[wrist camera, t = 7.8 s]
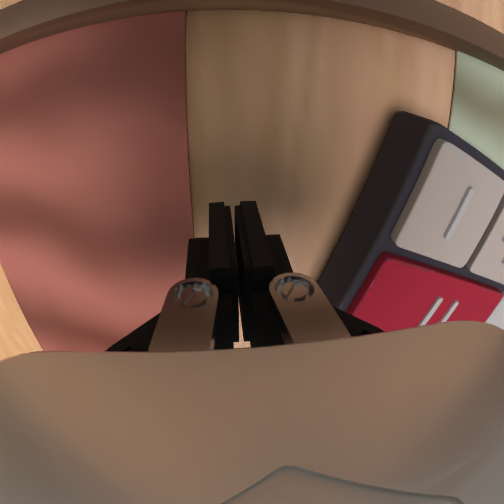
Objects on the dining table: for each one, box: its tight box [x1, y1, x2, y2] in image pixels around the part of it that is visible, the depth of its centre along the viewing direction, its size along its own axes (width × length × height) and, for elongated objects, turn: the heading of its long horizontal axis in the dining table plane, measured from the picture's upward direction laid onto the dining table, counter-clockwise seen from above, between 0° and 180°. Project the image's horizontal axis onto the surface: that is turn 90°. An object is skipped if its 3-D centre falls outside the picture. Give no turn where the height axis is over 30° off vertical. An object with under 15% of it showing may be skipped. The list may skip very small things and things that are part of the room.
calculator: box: [318, 111, 504, 332], centre depth 15 cm, size 11×4×15 cm
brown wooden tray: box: [0, 0, 504, 351], centre depth 14 cm, size 21×36×3 cm, turn 89°
